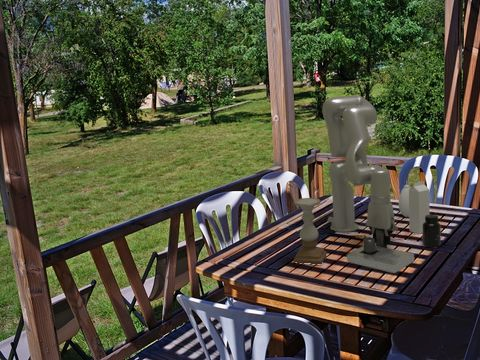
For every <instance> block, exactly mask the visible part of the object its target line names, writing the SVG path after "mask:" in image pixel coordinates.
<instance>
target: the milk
mask: <svg viewBox="0 0 480 360" xmlns="http://www.w3.org/2000/svg"><path fill="white" fill-rule="evenodd" d="M426 215H430V189H429V188H428V186H427V185H425V181H424V180H423V181H418V182H414V183H413V186H412V187H410V189H409V217H408V220H409V221H408V225H409V227H408V228H409V230H408V231H409V232H412V233H414V234H417V235H421V234H422V235H423V223H424V222H426V221H425V216H426Z"/></svg>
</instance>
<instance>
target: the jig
mask: <svg viewBox="0 0 480 360" xmlns="http://www.w3.org/2000/svg"><path fill="white" fill-rule="evenodd" d="M362 241H363V243H362V246H360V247H358V248H356V249H355V250H352V251H350V252H349V253H346V262H347V261H348V262H347V263H350V262H351V263H350V264H354V263H355V265H359V266H363V267H366V268H369V269H370V268H371V269H375V270H380V271H383V272H387V273H391V274H396V273H398V272H400V271H401V270H403V269H404V268H405V267H407V266H409V265H410V264H412V263H414V262H415V254H414V253H412V252H407V251H403V250H398V249H392V248H388V247H387V248H384V247H379V246H376V243H375V239H374V238H373V237H363V240H362Z"/></svg>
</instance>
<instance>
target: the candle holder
mask: <svg viewBox="0 0 480 360" xmlns="http://www.w3.org/2000/svg"><path fill="white" fill-rule="evenodd" d="M320 204H321V199H319V198H315V197H304V198H298V199H296V200H294V201H293V205H294V206H296V207H300V209H301V210H302V214H301V220H302V221H303V226H302V228H301V229H300V232H299V236H300V239H301V240H302V241H301V246H302V247H301V248H299V249H298V251H297V253H296V255H295V257H294V258H293V263H294V262H297V263H311V264H322V262H323V261H324V262H325V260H326V258H327V256H328V253H327V251H326V250H325V248H323V247H318V246H317V245H318V241H317V239H318V237H319V231H318V229H317V228H316V226H315V225H314V223H313V222H314V219H315V215H314V213H313V209H314V208H315V207H316V206H318V205H320ZM326 255H327V256H326ZM325 257H326V258H325ZM324 259H325V260H324ZM324 262H323V263H324ZM322 265H323V264H322Z"/></svg>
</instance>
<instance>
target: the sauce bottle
mask: <svg viewBox="0 0 480 360" xmlns="http://www.w3.org/2000/svg"><path fill="white" fill-rule="evenodd" d="M405 182H406V184H405V185H403V188H402V189H401V191H400V193H399V196H398V197H399V198H398V209H399V212H400V213H401V215H403V217H405V218H409V189H410V188H411V186H410V184H408V180H406V181H405Z"/></svg>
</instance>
